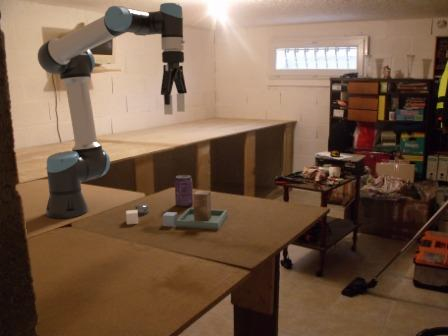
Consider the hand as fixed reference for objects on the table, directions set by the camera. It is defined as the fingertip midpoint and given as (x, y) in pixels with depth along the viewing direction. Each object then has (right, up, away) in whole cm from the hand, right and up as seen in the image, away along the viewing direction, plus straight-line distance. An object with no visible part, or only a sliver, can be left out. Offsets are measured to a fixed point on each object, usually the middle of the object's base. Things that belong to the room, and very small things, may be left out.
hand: (175, 113), depth 154 cm
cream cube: (-16, -39, +3) cm, 42 cm away
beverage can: (+1, -35, +24) cm, 42 cm away
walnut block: (+10, -38, +3) cm, 39 cm away
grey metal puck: (-14, -37, +14) cm, 42 cm away
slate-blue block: (-2, -40, 0) cm, 40 cm away
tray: (+10, -39, +3) cm, 40 cm away
